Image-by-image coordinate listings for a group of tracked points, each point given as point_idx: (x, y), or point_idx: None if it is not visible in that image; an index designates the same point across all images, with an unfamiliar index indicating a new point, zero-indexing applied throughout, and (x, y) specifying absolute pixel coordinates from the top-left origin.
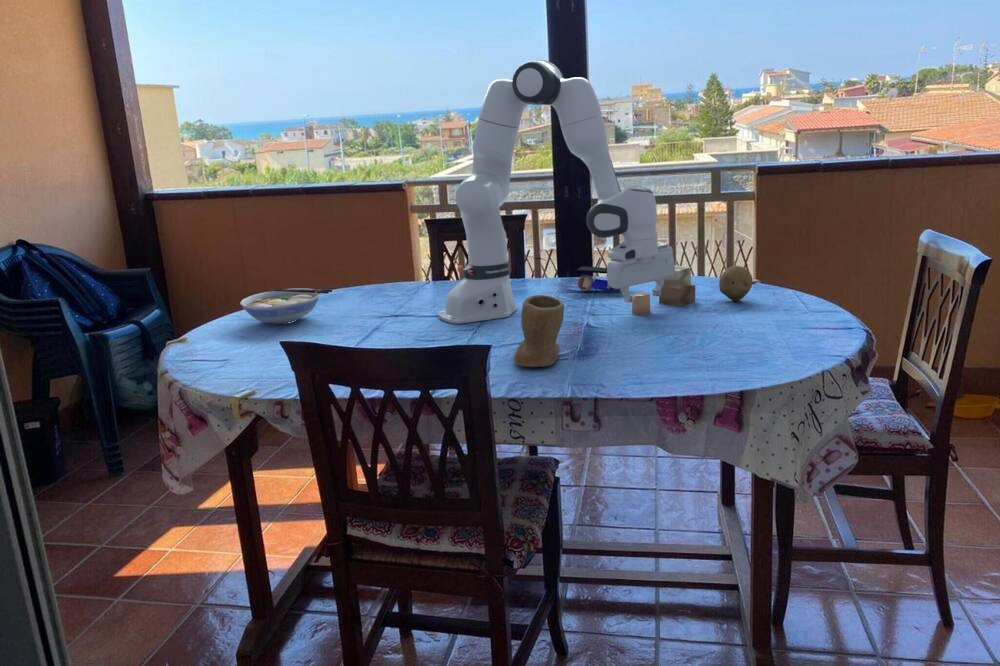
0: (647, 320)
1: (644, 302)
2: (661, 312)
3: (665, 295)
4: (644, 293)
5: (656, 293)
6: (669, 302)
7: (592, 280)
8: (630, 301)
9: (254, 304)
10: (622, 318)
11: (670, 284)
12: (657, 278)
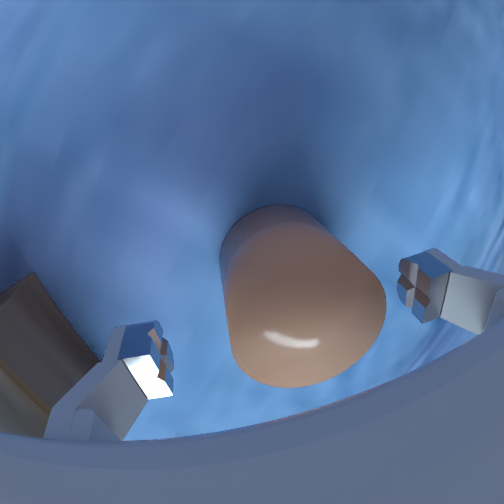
0: (334, 75)
1: (310, 236)
2: (158, 203)
3: (72, 379)
4: (263, 359)
5: (151, 338)
6: (65, 333)
7: None
8: (420, 253)
9: None
10: (413, 201)
11: (25, 414)
12: (127, 460)
